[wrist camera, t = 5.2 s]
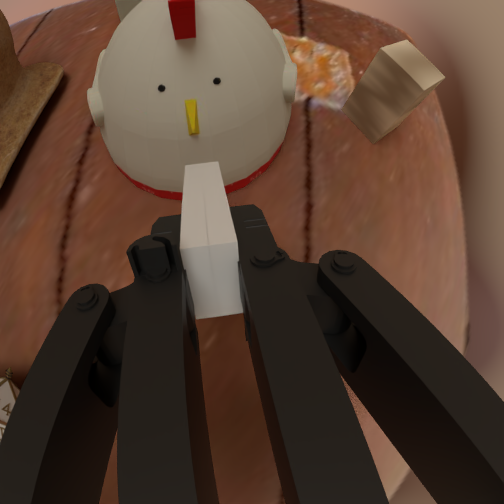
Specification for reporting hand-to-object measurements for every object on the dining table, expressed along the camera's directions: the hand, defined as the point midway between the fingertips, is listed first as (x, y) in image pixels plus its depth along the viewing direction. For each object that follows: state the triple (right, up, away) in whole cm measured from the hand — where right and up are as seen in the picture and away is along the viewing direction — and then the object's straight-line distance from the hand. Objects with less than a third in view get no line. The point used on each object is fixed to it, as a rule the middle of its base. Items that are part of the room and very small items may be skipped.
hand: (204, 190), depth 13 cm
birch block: (+13, +9, +9) cm, 18 cm away
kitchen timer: (-2, +7, +7) cm, 11 cm away
